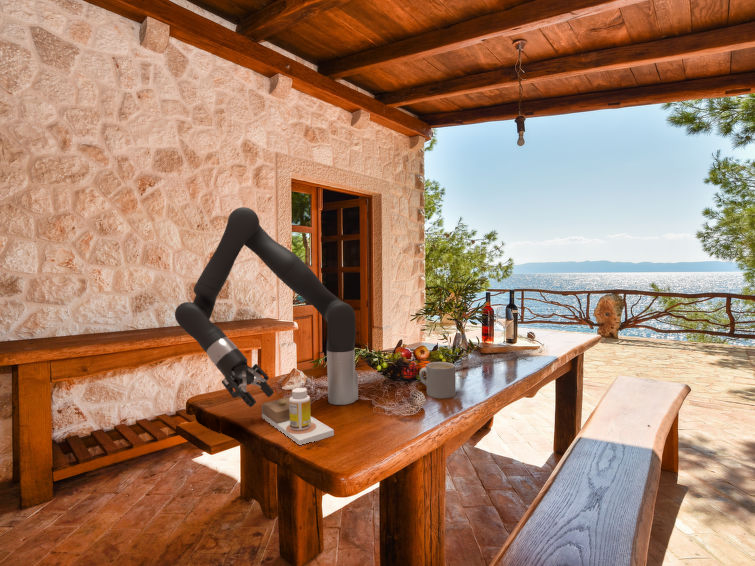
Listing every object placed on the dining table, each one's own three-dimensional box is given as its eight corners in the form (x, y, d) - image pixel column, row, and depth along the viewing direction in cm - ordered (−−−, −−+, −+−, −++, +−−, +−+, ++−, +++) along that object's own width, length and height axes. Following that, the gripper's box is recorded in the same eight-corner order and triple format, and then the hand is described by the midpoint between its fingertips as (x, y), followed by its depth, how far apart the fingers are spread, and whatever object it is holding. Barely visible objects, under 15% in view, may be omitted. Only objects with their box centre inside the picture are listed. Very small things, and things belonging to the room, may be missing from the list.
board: (292, 409, 124) (292, 397, 124) (333, 435, 104) (333, 420, 104) (261, 417, 118) (261, 404, 118) (299, 446, 98) (299, 431, 98)
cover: (288, 406, 122) (287, 394, 122) (302, 416, 114) (302, 402, 114) (263, 413, 117) (262, 399, 117) (276, 423, 109) (276, 408, 109)
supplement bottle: (311, 422, 109) (310, 386, 109) (309, 430, 104) (309, 392, 103) (291, 423, 109) (290, 387, 109) (288, 431, 103) (287, 393, 103)
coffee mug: (461, 393, 136) (461, 365, 136) (442, 400, 130) (442, 370, 130) (432, 385, 147) (432, 359, 146) (413, 391, 140) (413, 363, 140)
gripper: (217, 353, 105) (255, 399, 102) (249, 343, 118) (284, 383, 115) (201, 371, 107) (238, 417, 104) (235, 359, 120) (269, 400, 117)
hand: (262, 399), depth 109 cm, fingers open, 8 cm apart
